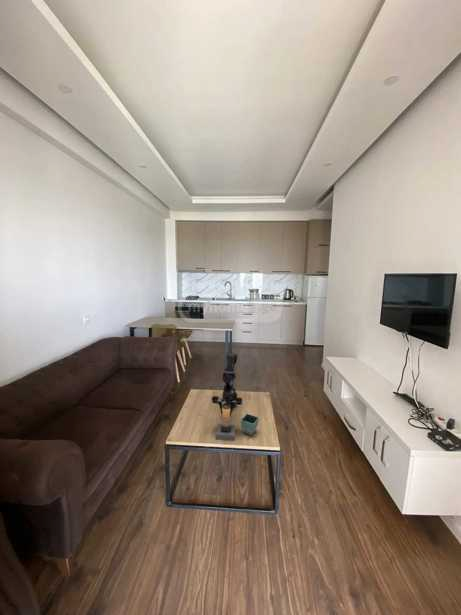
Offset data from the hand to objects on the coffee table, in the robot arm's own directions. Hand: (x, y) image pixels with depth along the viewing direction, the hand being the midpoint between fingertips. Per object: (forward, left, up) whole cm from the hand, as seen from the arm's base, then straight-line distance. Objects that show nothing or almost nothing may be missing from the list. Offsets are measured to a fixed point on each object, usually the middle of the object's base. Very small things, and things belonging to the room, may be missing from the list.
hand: (226, 414), depth 152 cm
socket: (-1, -1, -13) cm, 13 cm away
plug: (-1, -1, -7) cm, 7 cm away
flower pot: (-14, +6, -14) cm, 21 cm away
